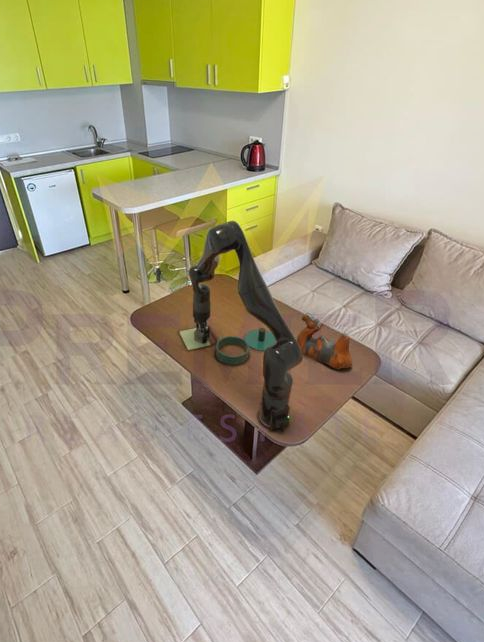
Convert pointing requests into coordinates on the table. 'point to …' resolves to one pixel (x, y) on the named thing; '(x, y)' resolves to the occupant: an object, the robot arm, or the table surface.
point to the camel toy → (324, 345)
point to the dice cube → (198, 335)
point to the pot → (232, 359)
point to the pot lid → (260, 339)
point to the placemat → (192, 340)
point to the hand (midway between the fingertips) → (201, 337)
